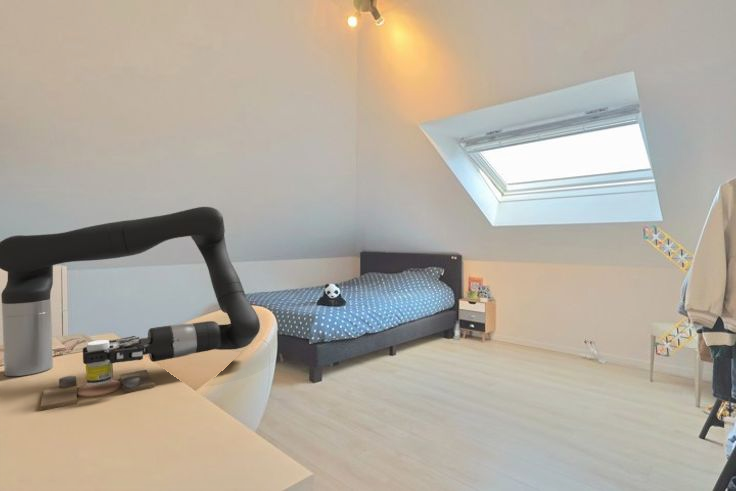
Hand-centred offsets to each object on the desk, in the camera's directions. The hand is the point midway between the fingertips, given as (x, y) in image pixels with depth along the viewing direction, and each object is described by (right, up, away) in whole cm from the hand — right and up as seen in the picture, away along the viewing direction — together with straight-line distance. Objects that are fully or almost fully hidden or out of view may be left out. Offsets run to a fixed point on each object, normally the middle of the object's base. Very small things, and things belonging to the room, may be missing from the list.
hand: (83, 355), depth 85 cm
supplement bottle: (+2, -6, +2) cm, 7 cm away
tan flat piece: (+2, -8, +2) cm, 8 cm away
